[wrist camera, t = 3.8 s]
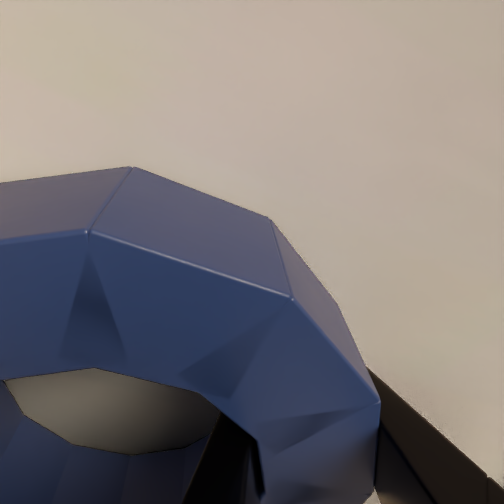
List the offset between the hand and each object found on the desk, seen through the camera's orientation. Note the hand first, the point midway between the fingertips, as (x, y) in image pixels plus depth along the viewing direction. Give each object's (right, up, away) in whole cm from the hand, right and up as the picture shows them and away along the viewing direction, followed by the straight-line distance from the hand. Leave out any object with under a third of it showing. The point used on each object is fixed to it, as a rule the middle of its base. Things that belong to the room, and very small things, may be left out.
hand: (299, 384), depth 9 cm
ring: (-4, 0, +1) cm, 5 cm away
